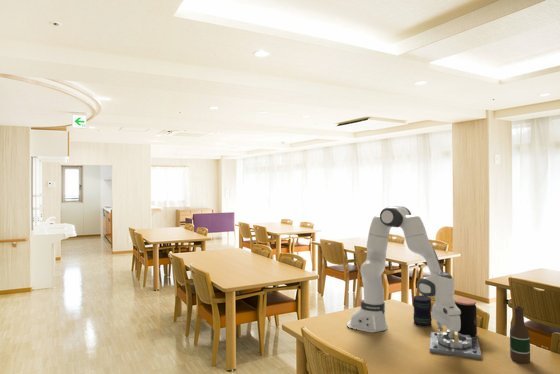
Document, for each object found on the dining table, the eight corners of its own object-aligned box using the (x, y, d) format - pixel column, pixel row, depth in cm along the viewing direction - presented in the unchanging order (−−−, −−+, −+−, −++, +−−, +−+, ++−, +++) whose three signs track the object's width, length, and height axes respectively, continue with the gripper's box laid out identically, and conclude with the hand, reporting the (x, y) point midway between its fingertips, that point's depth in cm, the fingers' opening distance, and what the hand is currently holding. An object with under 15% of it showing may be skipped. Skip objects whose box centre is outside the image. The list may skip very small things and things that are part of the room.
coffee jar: (479, 338, 200) (478, 303, 200) (457, 337, 202) (456, 303, 202) (473, 331, 210) (472, 298, 210) (452, 330, 212) (451, 297, 212)
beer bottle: (506, 356, 178) (505, 304, 178) (522, 355, 179) (521, 304, 179) (518, 364, 170) (516, 310, 170) (534, 363, 171) (533, 309, 171)
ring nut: (474, 350, 180) (473, 336, 180) (439, 347, 184) (439, 334, 184) (467, 336, 197) (467, 323, 197) (436, 334, 201) (435, 321, 201)
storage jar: (432, 327, 216) (431, 301, 216) (413, 326, 220) (413, 299, 220) (431, 321, 226) (430, 296, 226) (413, 320, 229) (412, 295, 229)
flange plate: (429, 352, 185) (429, 340, 185) (431, 335, 205) (430, 324, 205) (481, 359, 176) (481, 346, 176) (477, 341, 197) (477, 329, 197)
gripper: (428, 300, 201) (428, 326, 201) (450, 313, 180) (450, 342, 180) (439, 299, 201) (440, 326, 201) (462, 312, 181) (463, 341, 181)
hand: (445, 334), depth 191 cm, fingers open, 8 cm apart
